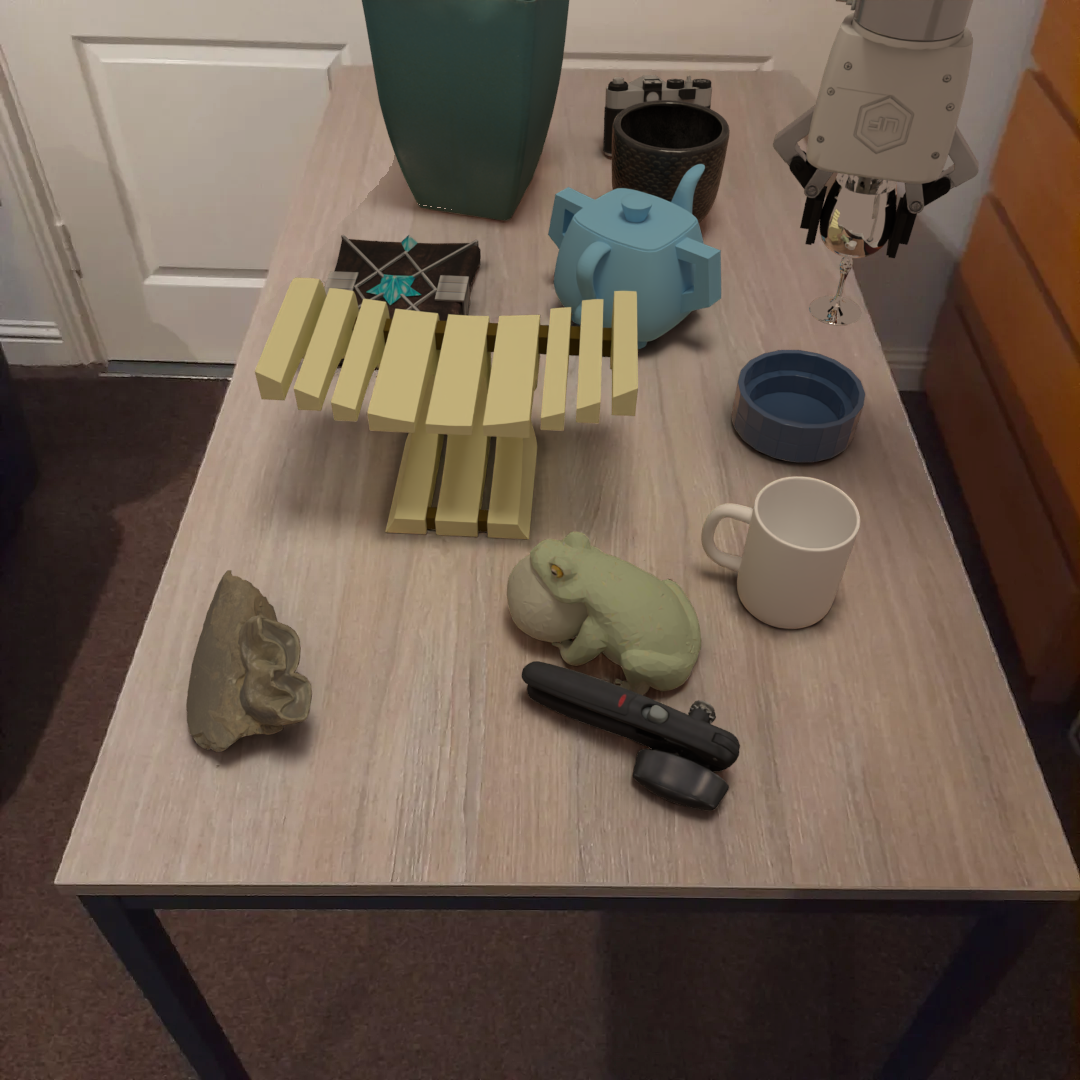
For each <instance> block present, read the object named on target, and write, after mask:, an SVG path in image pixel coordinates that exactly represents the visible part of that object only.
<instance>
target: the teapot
mask: <svg viewBox="0 0 1080 1080" xmlns="http://www.w3.org/2000/svg"><path fill="white" fill-rule="evenodd" d="M704 169H705V165H703V164H698V165H695V166H693V167H692V168H691V169H689V170H688V171H687V172H686V174H685V175H684V176H683V178H682V180H681V182H680V184H679V186H678V188H677V190H676V192H675V194H674V197H673V199H672V201H671V202H669V201H667V200H664V199H662V198H659V197H656V196H653V195H650V194H647V193H644V192H640V191H637V190H632V189H626V188H617V189H614V190H613V189H611V190H610V191H607V192H606V193H604V194H602V195H601V196H599V197H597V198H596V199H594V198H593V197H590V196H588V195H586V194H584V193H582V192H581V191H578V190H575V189H574V188H571V187H570V186H567V187H566V188H564V189H562V190H560V191H559V192H557V193H555V194H554V199H553V206H552V210H551V216H550V220H549V221H550V222H549V227H548V231H547V232H548V233H547V236H548V237H549V238H550V239H551V241H552V242H553V243H554V245H555V246H556V247H557V248H558V252H557V253H558V254H557V256H556V262H555V266H554V274H553V288H554V292H555V294H556V296H557V298H558V300H559V302H560V304H561V305H562V306H563V308H565V307H571V322H573V323H574V324H575V325H579V326H581V312H582V301H583V300H592V299H603V328H611V325H612V312H613V299H614V291H636V292H637V346H638V350H641V349H643V348H645V347H646V346H647V345H648V342H652V341H654V340H657V339H658V338H660V337H662V336H664V335H665V334H666V333H668V332H670V331H671V330H672V329H674V328H675V327H676V326H678V325H679V324H680V323H681V322H682V321H684V320H685V318H687V317H688V316H689V315H690V314H691V313H692V312H693V311H699V310H703V309H707V308H710V307H712V306H713V305H715V304H716V303H717V302H718V301H720V300H721V299H722V262H721V261H722V254H721V253H722V252H721V251H722V250H721V249H718V248H715V247H713V246H710V245H708V244H705V242H704V238H703V234H702V230H701V227H700V223H698V220H697V218H696V217H695V216H694V215H692V205H693V196H694V191H695V188H696V185H697V182H698V181H699V179H700V177H701V175H702V174H703V172H704Z"/></svg>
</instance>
